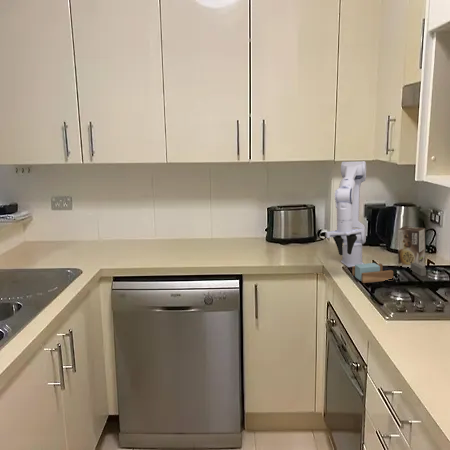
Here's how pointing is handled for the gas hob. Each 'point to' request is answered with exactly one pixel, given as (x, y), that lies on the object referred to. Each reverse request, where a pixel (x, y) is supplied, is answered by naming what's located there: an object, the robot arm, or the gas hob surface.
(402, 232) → the cookie box
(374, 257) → the gas hob surface
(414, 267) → the block
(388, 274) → the chute
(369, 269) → the block
